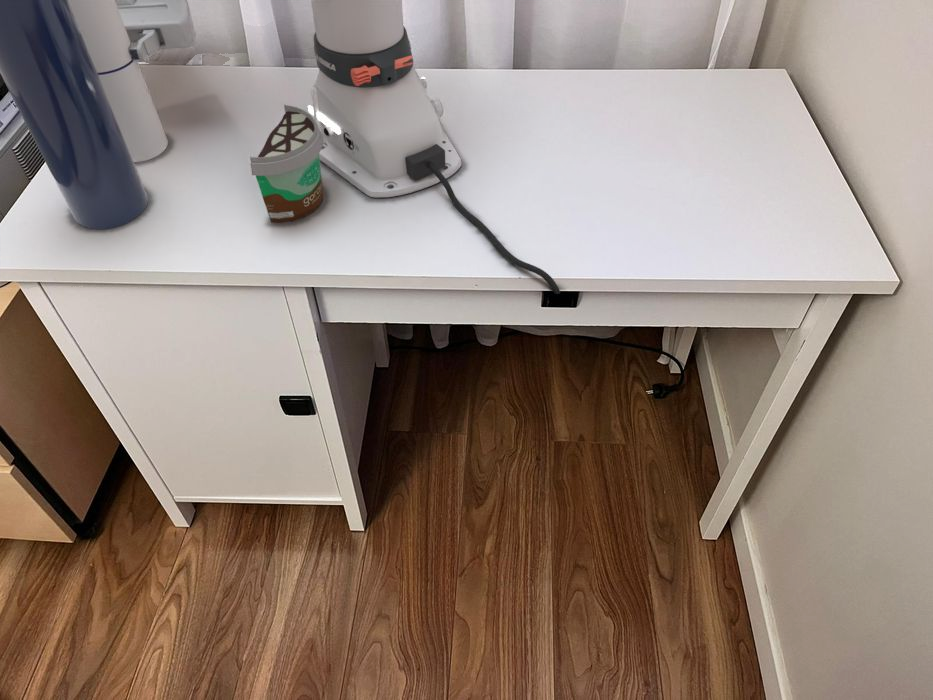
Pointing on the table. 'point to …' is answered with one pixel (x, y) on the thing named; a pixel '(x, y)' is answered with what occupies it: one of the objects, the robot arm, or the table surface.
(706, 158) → the table surface
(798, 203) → the table surface
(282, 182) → the food container
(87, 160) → the vase
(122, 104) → the cylindrical container
